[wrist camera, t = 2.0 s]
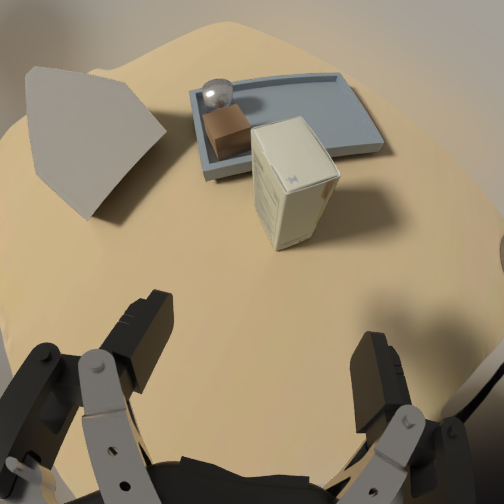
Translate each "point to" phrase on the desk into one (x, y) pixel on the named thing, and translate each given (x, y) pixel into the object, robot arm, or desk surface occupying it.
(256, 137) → the skincare box
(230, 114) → the walnut block
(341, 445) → the desk surface
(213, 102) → the chrome dome knob
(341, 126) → the blue-grey serving tray
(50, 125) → the slotted wedge
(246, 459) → the desk surface
